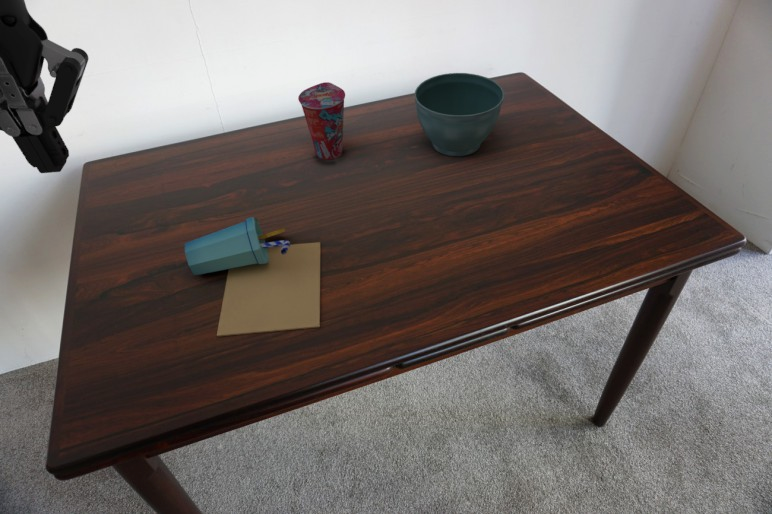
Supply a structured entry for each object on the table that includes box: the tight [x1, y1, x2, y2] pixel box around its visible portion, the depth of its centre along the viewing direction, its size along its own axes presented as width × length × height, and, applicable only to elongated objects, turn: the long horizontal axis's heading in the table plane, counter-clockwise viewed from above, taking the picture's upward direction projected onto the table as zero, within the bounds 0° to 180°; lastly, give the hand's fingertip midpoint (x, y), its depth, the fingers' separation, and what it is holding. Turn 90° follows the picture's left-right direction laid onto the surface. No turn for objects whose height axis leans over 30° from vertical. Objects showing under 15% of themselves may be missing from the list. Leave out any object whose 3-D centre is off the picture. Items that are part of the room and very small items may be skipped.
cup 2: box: [297, 81, 346, 161], centre depth 98 cm, size 9×8×12 cm
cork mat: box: [216, 241, 321, 338], centre depth 77 cm, size 14×17×1 cm
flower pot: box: [414, 72, 505, 157], centre depth 99 cm, size 16×16×11 cm
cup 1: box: [184, 216, 291, 276], centre depth 78 cm, size 14×8×15 cm
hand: (55, 167), depth 44 cm, fingers closed
